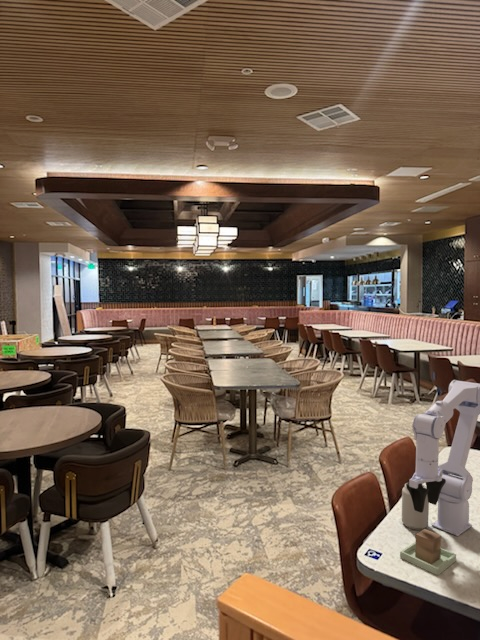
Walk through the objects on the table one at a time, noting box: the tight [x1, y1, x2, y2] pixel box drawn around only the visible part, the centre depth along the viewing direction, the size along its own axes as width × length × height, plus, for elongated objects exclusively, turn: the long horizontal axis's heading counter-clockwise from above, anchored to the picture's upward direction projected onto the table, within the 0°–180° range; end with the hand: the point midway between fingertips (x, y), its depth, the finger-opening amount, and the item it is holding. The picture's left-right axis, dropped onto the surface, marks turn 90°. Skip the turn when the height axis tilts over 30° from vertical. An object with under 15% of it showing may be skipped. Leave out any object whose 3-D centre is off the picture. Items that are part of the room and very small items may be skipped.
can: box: [401, 482, 430, 531], centre depth 136 cm, size 8×8×12 cm
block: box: [415, 528, 442, 564], centre depth 118 cm, size 4×4×6 cm
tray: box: [399, 541, 457, 576], centre depth 118 cm, size 10×10×2 cm
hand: (425, 507), depth 125 cm, fingers open, 7 cm apart
